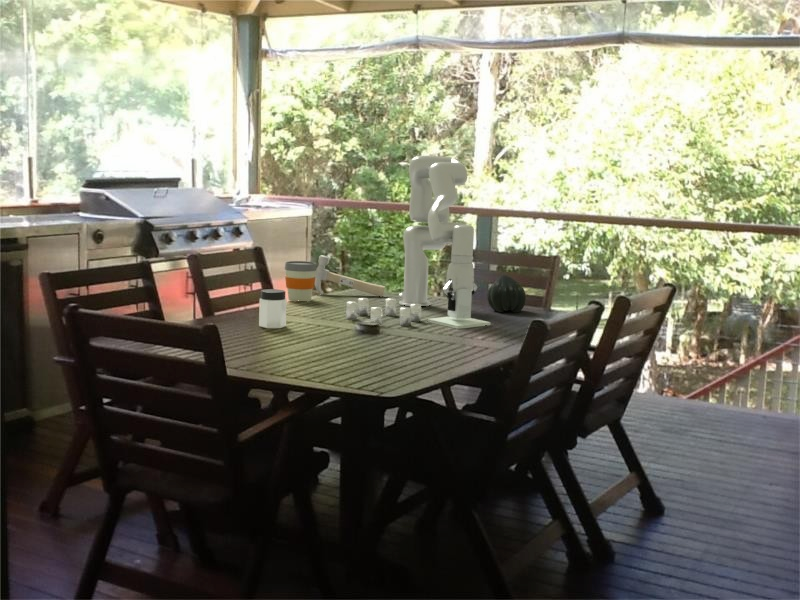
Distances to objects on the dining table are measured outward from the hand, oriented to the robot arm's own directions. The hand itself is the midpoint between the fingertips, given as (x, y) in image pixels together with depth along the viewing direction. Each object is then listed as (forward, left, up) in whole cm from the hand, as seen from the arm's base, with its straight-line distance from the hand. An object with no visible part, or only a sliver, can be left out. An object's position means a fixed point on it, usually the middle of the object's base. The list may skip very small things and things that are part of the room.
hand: (459, 309), depth 323 cm
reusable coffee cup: (-70, -21, -5) cm, 73 cm away
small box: (0, 0, -3) cm, 3 cm away
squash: (-12, +37, -5) cm, 39 cm away
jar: (-25, -62, -5) cm, 67 cm away
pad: (0, 0, -5) cm, 5 cm away
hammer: (-72, +5, -5) cm, 73 cm away
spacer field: (-18, -20, -5) cm, 27 cm away
